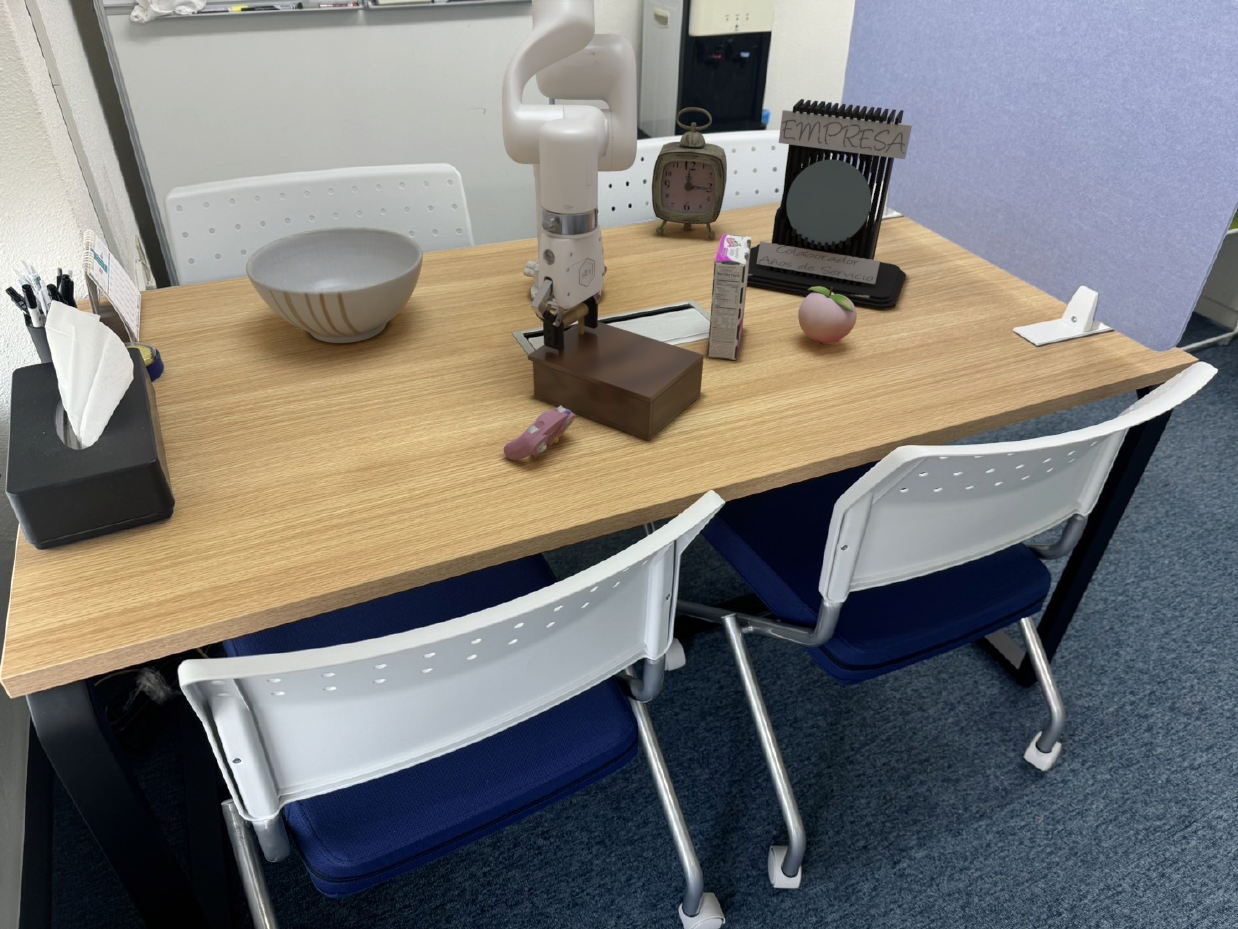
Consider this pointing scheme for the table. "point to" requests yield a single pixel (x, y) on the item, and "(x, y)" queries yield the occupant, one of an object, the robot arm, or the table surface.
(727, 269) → the candy bar box
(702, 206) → the tabletop clock
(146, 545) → the table surface
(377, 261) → the decorative bowl
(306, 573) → the table surface
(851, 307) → the decorative fruit
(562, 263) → the robot arm
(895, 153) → the award
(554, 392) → the chest
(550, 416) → the video game controller
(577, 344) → the chest lid
